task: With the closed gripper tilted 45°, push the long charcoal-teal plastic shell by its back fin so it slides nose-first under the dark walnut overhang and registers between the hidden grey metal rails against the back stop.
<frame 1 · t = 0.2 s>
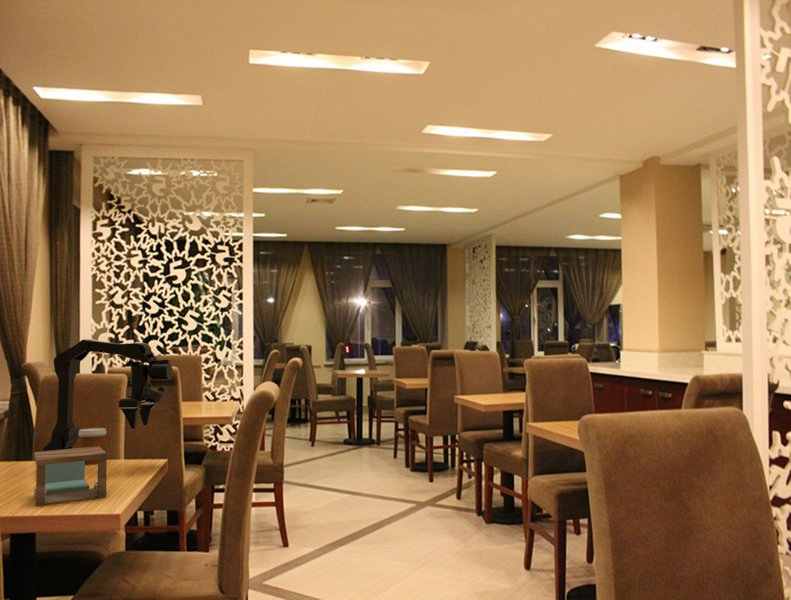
hand: (139, 426, 223), 14 cm above the table, tool pointing down, fingers open, 9 cm apart
teal plastic shell: (66, 489, 195), on the table
walnut overhang shelf: (69, 496, 185), on the table
disposable coffee cup: (92, 463, 239), on the table
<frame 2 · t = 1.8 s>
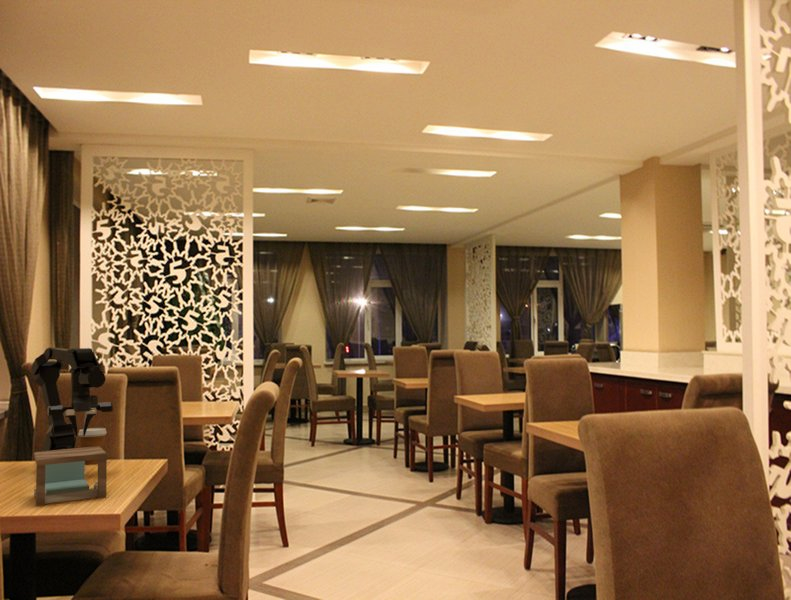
hand: (80, 435, 214), 13 cm above the table, tool pointing down, fingers closed
nothing on the table moved.
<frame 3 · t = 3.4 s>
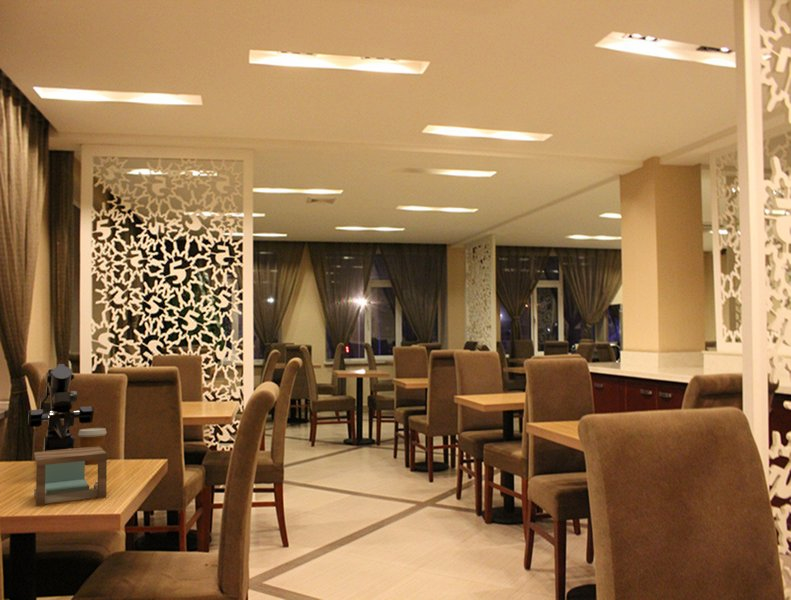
hand: (62, 437, 210), 13 cm above the table, tool tilted 45°, fingers closed
nothing on the table moved.
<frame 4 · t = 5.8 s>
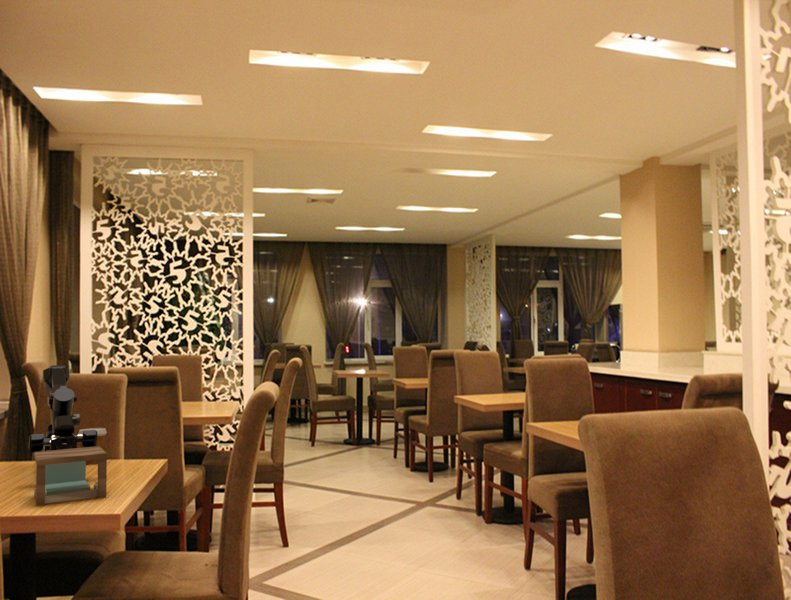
hand: (65, 463, 199), 7 cm above the table, tool tilted 45°, fingers closed
teal plastic shell: (66, 490, 193), on the table
everything else where it was.
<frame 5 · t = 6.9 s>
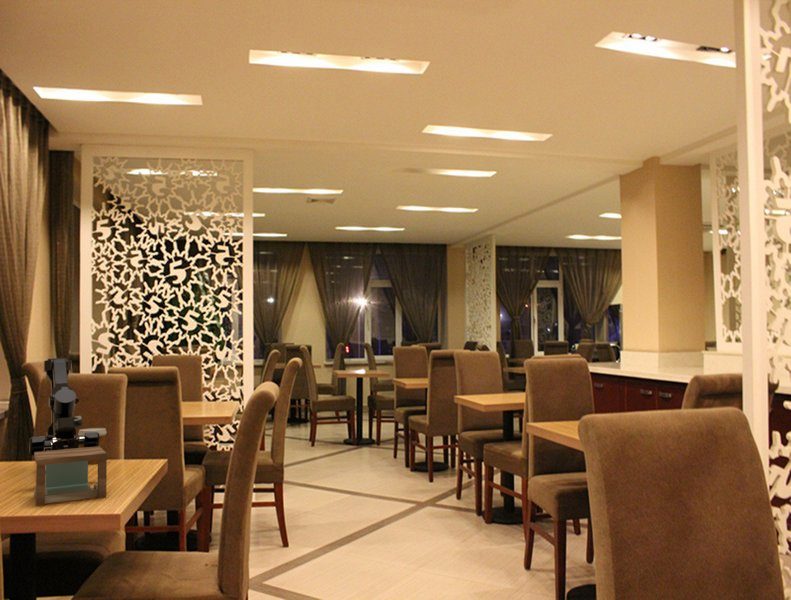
hand: (66, 466, 195), 7 cm above the table, tool tilted 45°, fingers closed
teal plastic shell: (68, 494, 188), on the table
everything else where it was.
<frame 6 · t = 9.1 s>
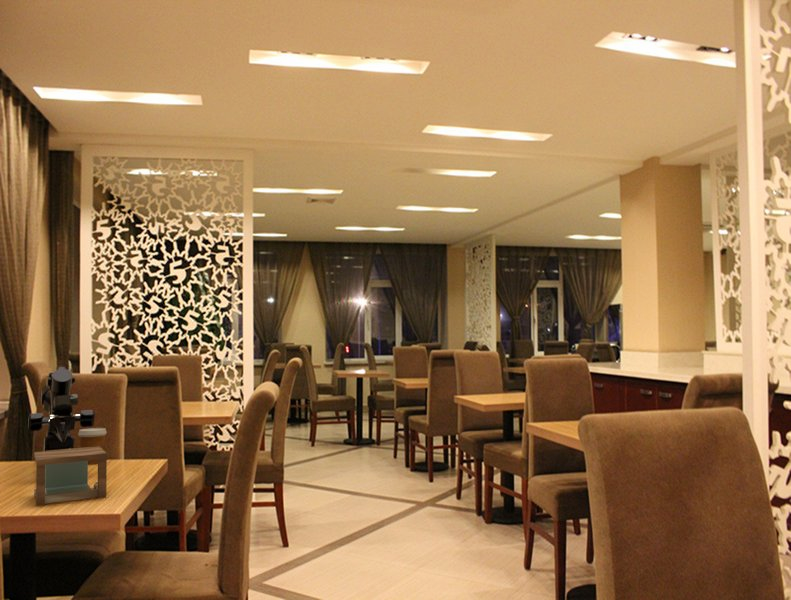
hand: (63, 441, 206), 12 cm above the table, tool tilted 45°, fingers closed
nothing on the table moved.
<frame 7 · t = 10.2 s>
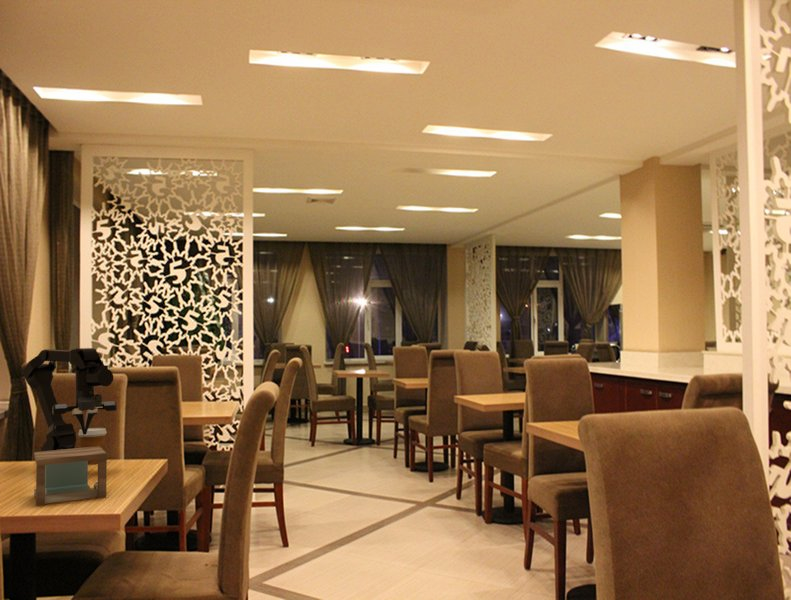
hand: (84, 434, 217), 13 cm above the table, tool pointing down, fingers closed
nothing on the table moved.
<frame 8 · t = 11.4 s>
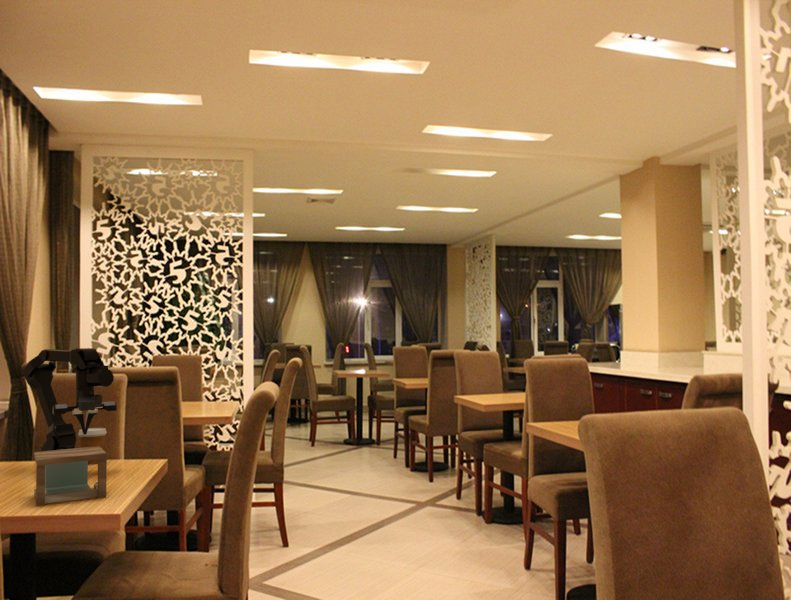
hand: (84, 434, 217), 13 cm above the table, tool pointing down, fingers closed
nothing on the table moved.
at the end: teal plastic shell 0.3 cm from the target spot on the walnut overhang shelf, point 0.0 cm above the walnut overhang shelf's base; teal plastic shell tilted 0° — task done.
